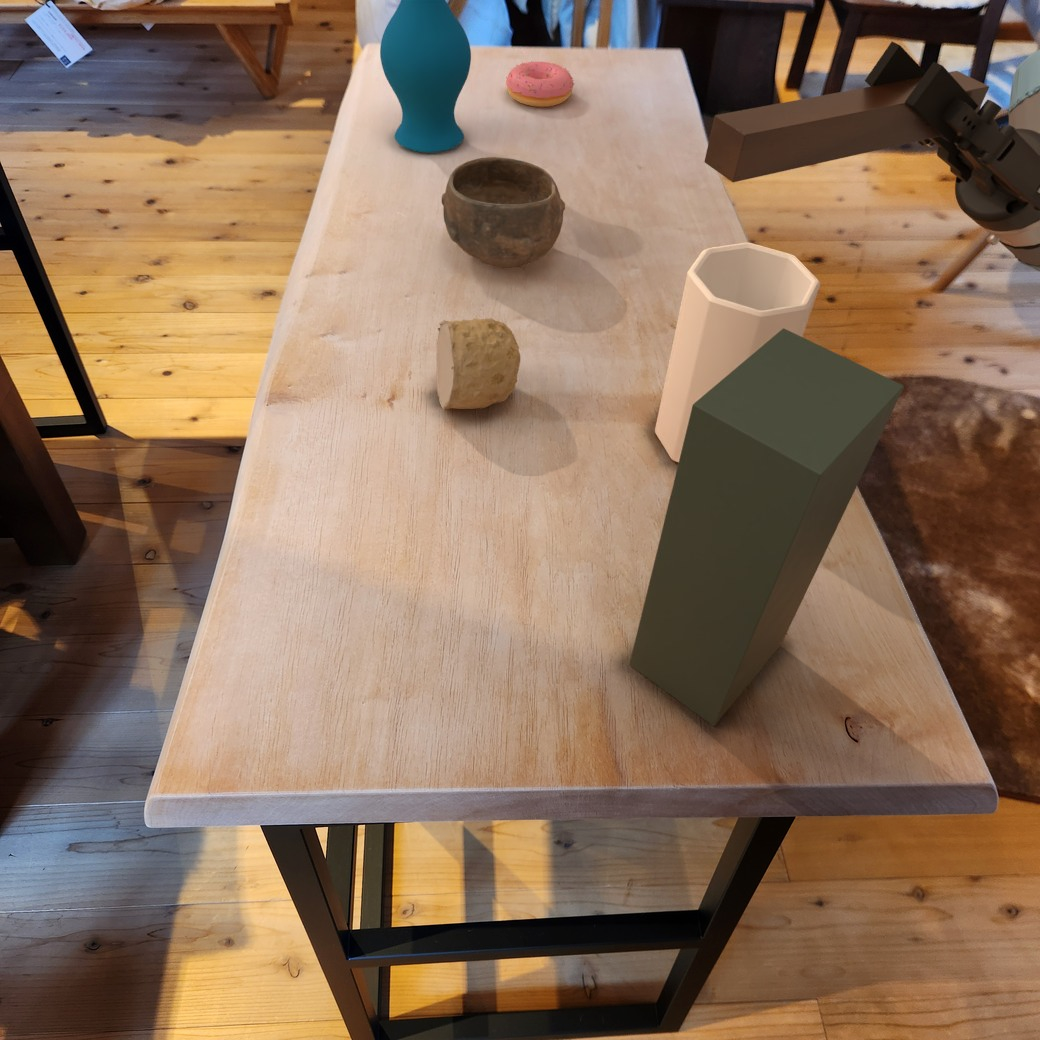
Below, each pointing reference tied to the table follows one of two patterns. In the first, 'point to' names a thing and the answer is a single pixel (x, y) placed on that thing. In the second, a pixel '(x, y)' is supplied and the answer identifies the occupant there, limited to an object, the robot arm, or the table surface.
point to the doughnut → (539, 84)
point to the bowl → (502, 211)
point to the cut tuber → (475, 363)
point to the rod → (820, 129)
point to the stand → (754, 514)
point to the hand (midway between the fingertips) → (902, 73)
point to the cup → (728, 323)
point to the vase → (426, 72)
